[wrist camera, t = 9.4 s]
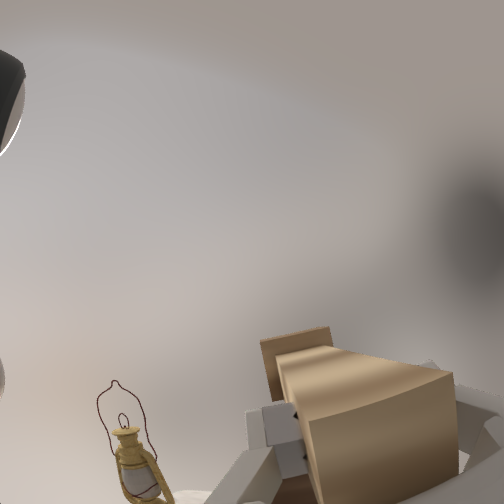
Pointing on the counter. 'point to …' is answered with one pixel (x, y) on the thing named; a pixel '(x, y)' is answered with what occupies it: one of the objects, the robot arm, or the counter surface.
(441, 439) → the beech mallet
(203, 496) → the counter surface
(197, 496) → the counter surface
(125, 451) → the lantern
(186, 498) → the counter surface
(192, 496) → the counter surface
